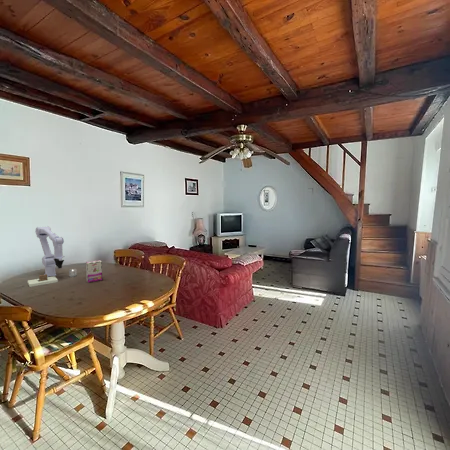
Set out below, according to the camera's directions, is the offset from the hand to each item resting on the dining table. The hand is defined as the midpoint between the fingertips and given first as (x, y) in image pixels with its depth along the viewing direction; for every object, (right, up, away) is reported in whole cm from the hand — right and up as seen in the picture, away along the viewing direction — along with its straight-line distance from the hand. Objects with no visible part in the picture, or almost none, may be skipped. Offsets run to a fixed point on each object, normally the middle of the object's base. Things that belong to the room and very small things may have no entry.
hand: (58, 267), depth 205 cm
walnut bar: (-5, -10, -11) cm, 16 cm away
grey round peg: (+8, -9, +7) cm, 14 cm away
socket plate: (-5, -10, -11) cm, 16 cm away
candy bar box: (+32, -11, -3) cm, 34 cm away
